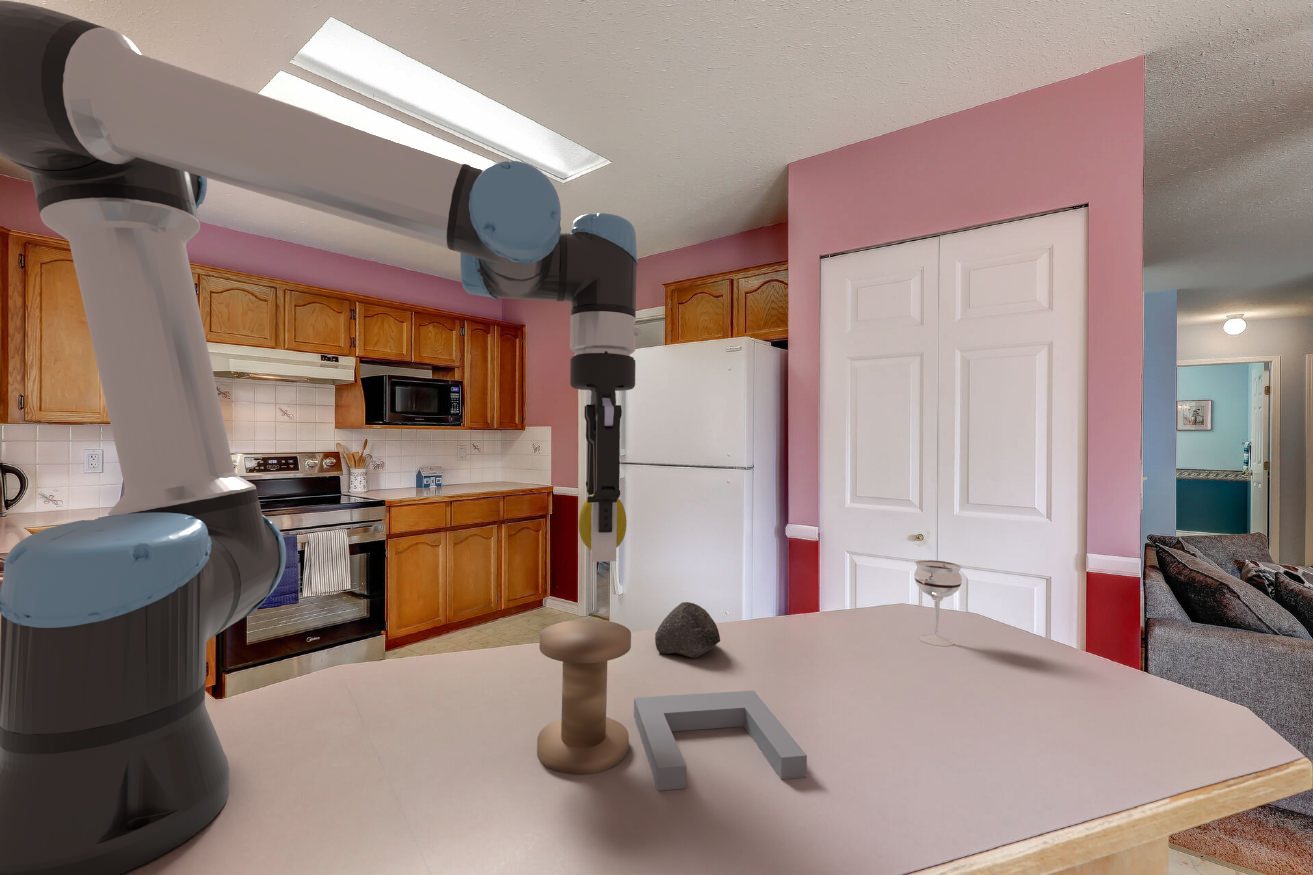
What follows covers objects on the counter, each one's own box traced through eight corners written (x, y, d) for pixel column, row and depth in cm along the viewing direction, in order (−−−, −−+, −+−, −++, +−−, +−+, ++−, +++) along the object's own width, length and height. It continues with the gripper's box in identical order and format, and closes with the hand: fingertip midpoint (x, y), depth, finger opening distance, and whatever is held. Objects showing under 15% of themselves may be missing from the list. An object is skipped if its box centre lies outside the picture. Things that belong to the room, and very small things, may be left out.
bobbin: (536, 778, 53) (539, 652, 53) (537, 728, 62) (540, 621, 62) (634, 769, 55) (637, 647, 55) (622, 723, 64) (624, 618, 64)
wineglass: (959, 637, 94) (960, 562, 94) (961, 650, 88) (963, 571, 88) (912, 630, 97) (914, 558, 97) (912, 643, 91) (914, 566, 91)
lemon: (619, 563, 65) (619, 491, 65) (571, 561, 66) (572, 490, 66) (631, 553, 70) (631, 486, 70) (587, 551, 72) (587, 485, 71)
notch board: (657, 790, 52) (658, 767, 52) (633, 715, 65) (634, 697, 65) (806, 776, 54) (806, 755, 54) (753, 707, 68) (753, 690, 68)
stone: (658, 665, 90) (635, 633, 84) (685, 617, 94) (665, 584, 88) (712, 692, 84) (692, 660, 78) (739, 640, 88) (722, 606, 82)
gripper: (649, 344, 60) (646, 572, 60) (624, 365, 78) (621, 540, 78) (575, 341, 58) (572, 575, 58) (566, 363, 76) (564, 541, 77)
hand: (600, 554), depth 68 cm, fingers closed on lemon, 5 cm apart
